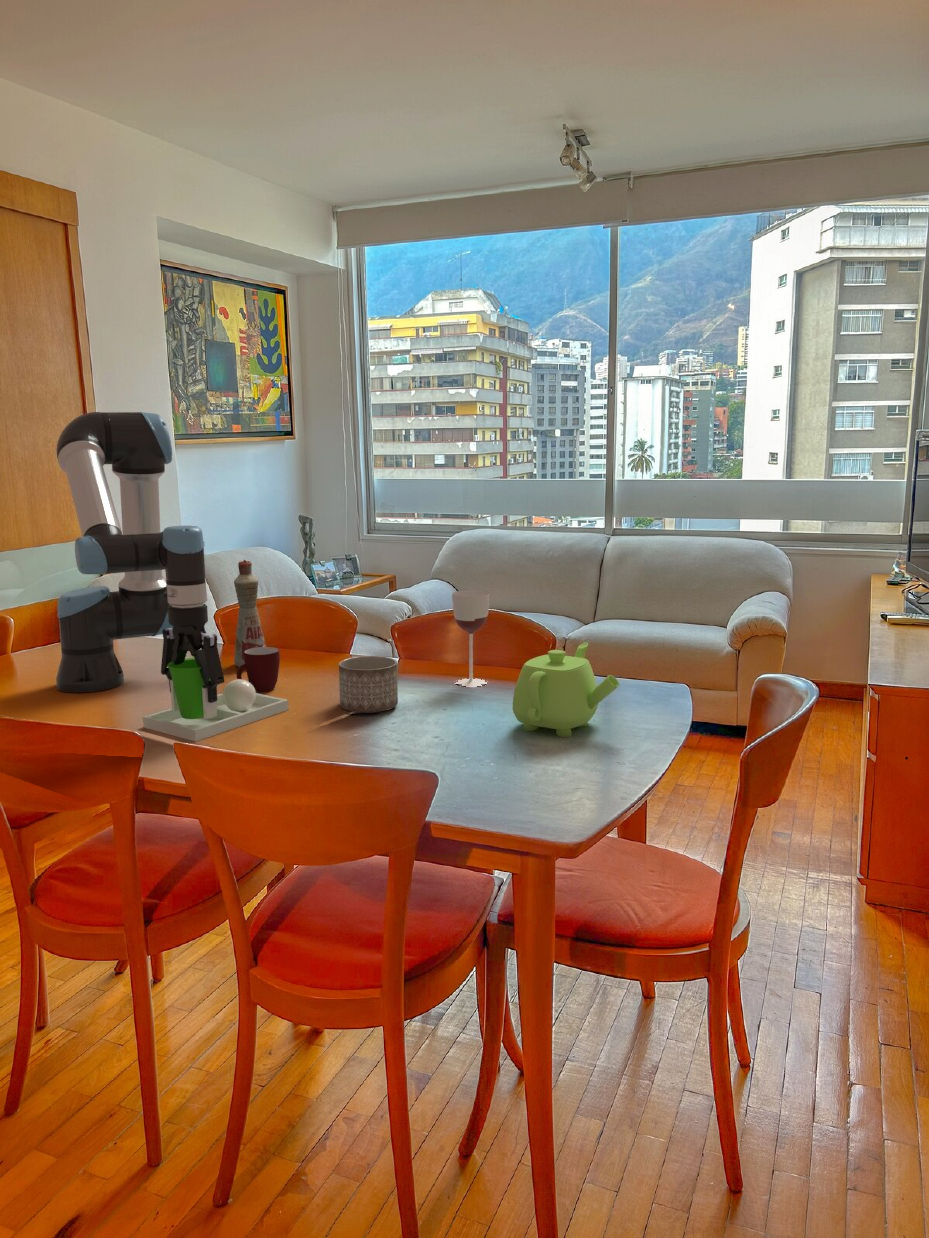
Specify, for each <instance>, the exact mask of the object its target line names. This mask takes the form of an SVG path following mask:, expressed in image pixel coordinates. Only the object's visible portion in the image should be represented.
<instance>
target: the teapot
mask: <svg viewBox="0 0 929 1238" xmlns="http://www.w3.org/2000/svg"><path fill="white" fill-rule="evenodd" d="M588 647H589V643H588V642H582V643H581V644H579V645H578V646H577V649H576V651H575V653H574V656H570V655H566V653H567V652H566V651H564V650H561V649H551V650H549V651H547V654H544V655H539V656H536V657H534V658H531V659H529V660H527V661H526V662H525V663H524V664H523V666H522V668H521V671H520V673H519V676H518V678H517V681H516V684H515V688H514V692H513V696H512V711H513V714H514V716H515V719H516V720H517V721H518V722H519V723H522V724H524V725H523V726H522V730H524V731H529V732H530V731H531V732H532V731H533V732H534V731H536V730H537V731H538V729H539V727H541V728H544V729H552V730H553V729H554V730H556V732H555V733H556V736H557V737H560V738H569V737H570V738H571V737H572V736H573V732H572V729H574V728H577V727H580V728H582V727H583V728H585V727H588V726H589V723H588V722H589V721H590V720H591V719H593V716H594V715H595V713H596V711H597V710H598V708H599V703H601V702H602V701H603V700H604V699H605V698H607V697H608V696H609V695H610V694H611V693H612V692H614V691H615V690H617V689H618V688H619V687H620V682H619V680H618V679H617V678H616V677H615V676H613V675H610V674H609V675H608V676H606V677H605V678H604V679H603V680H602V681H601V682H599V684H598V685H597V681H596V677H595V674H594V672H593V668H592V665H591V664H590V663H591V662H590V661H589V660H588V659H587V658H586V652H587V649H588Z"/></svg>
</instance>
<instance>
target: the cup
mask: <svg viewBox="0 0 929 1238" xmlns="http://www.w3.org/2000/svg"><path fill="white" fill-rule="evenodd" d="M167 668H170V672H171V677H172V681H173V685H174V689H175V693H176V698H177V702H178V706H179V710H180V714H181V716H182V718H184V719H198V718H202V717H204V711H203V695H202V686H204V685H205V684H204V681H203V679H202V676H201V674H200V669H201V667H198V666H197V663H196V661H195V658H194V657H190V658H189V657H188V658H185V661H184V662H183V663H182V664H179V665H174V662H173V661H172V662H170V663H169V664H168V666H167ZM209 681H210V679H209Z"/></svg>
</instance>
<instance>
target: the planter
mask: <svg viewBox="0 0 929 1238" xmlns="http://www.w3.org/2000/svg"><path fill="white" fill-rule="evenodd" d="M338 683H339V684H338V685H339V686H338V687H339V690H338V691H339V706H340V708H342V709H343V710H345V711H349V712H352V713H353V712H355V713H362V714H373V713H374V714H375V713H379V712H385V711H389V710H392V709H393V708H395V707H397V705H398V703H399V697H398V696H399V693H398V684H399V683H398V661H397V660H396V659H394V658H392V657H388V656H381V655H361V656H354V657H353V656H352V657H349V658H345V659H342V660H341V661H339V662H338Z"/></svg>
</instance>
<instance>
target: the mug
mask: <svg viewBox="0 0 929 1238" xmlns="http://www.w3.org/2000/svg"><path fill="white" fill-rule="evenodd" d="M280 655H281V653H280V649H279V648H277V647H272V646H271V647H270V646H266V647H258V648H251V649H247V650H245V651H244V663H245V664H243V665H241V666H240V667H239V668H237V670H236V671H237V672H236V679H243V677H242V675H243V672H244V670H245V671H246V675H247V679H248V680H247V681H248V682H250V683H251V684H252V685H253V687H254V688H255V691H256V693H266V692H271V691H273V690H275V688H276V685H277V682H278V679H279V678H278V677H279V669H280V664H281V658H280V657H281V656H280Z"/></svg>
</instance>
